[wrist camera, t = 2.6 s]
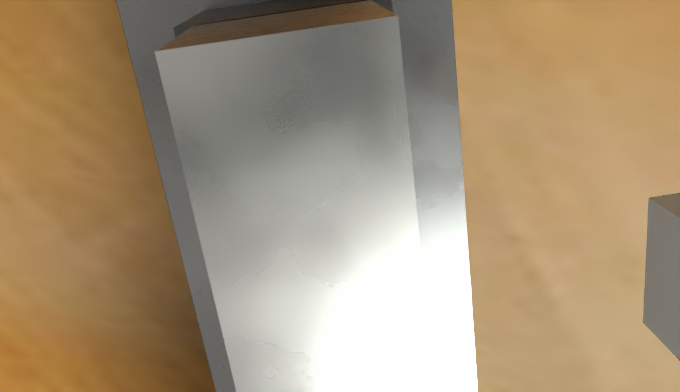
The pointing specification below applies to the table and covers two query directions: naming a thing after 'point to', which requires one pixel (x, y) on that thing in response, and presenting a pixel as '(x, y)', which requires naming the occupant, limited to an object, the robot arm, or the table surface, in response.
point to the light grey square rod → (305, 196)
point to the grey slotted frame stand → (426, 148)
